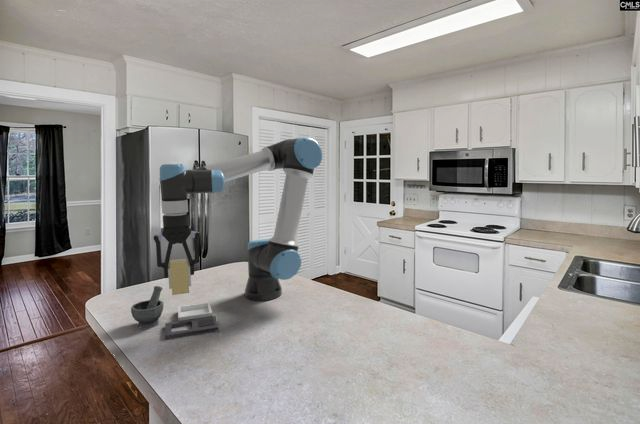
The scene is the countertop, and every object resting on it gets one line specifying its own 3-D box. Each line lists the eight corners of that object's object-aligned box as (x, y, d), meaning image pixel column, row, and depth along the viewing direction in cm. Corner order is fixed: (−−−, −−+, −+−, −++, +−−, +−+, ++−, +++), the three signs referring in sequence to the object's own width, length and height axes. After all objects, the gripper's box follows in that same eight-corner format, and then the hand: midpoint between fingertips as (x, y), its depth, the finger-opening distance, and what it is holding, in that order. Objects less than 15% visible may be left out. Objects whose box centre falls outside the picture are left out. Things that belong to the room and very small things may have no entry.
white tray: (209, 307, 136) (209, 302, 136) (212, 318, 126) (212, 312, 125) (178, 312, 132) (178, 306, 132) (178, 323, 122) (178, 317, 121)
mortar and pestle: (147, 332, 115) (145, 296, 114) (126, 328, 119) (123, 293, 117) (173, 319, 126) (171, 285, 124) (152, 315, 129) (150, 283, 128)
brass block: (188, 288, 119) (186, 258, 118) (189, 292, 114) (187, 262, 113) (172, 290, 117) (170, 260, 116) (172, 295, 112) (170, 263, 111)
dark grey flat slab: (215, 318, 126) (215, 315, 126) (218, 330, 116) (218, 326, 116) (165, 326, 120) (165, 322, 120) (164, 339, 111) (164, 335, 110)
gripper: (204, 210, 119) (208, 279, 122) (144, 214, 113) (150, 286, 116) (206, 213, 112) (210, 285, 115) (142, 217, 106) (148, 293, 109)
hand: (180, 286), depth 115 cm, fingers closed on brass block, 5 cm apart
